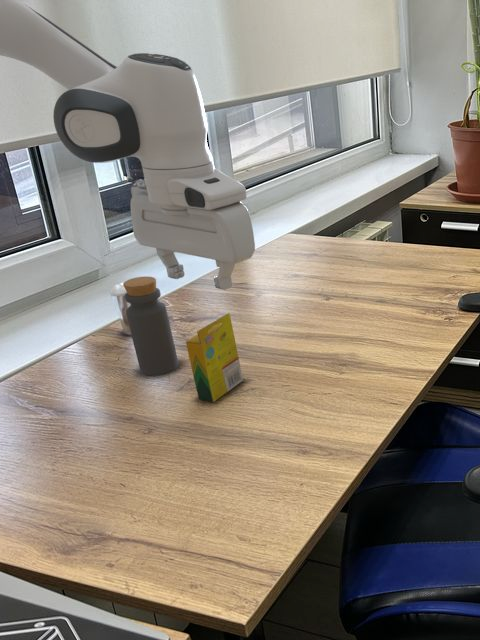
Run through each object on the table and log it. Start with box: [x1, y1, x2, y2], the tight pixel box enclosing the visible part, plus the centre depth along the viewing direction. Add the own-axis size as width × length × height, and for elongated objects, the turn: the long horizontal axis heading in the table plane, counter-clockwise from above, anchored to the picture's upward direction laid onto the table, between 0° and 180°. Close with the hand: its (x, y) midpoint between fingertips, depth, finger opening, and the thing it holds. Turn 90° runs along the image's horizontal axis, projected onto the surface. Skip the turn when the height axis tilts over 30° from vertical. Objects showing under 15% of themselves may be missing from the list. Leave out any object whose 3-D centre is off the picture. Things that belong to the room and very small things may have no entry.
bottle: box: [122, 276, 179, 377], centre depth 112 cm, size 6×6×15 cm
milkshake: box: [109, 282, 132, 336], centre depth 127 cm, size 5×5×10 cm
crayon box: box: [185, 312, 244, 403], centre depth 106 cm, size 7×3×12 cm, turn 159°
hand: (199, 282), depth 100 cm, fingers open, 8 cm apart
